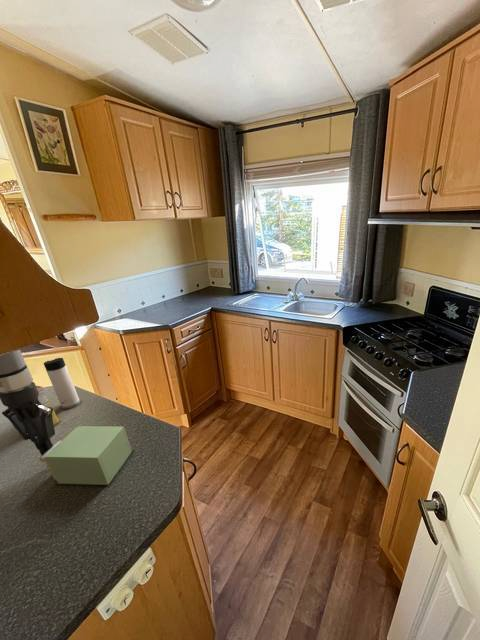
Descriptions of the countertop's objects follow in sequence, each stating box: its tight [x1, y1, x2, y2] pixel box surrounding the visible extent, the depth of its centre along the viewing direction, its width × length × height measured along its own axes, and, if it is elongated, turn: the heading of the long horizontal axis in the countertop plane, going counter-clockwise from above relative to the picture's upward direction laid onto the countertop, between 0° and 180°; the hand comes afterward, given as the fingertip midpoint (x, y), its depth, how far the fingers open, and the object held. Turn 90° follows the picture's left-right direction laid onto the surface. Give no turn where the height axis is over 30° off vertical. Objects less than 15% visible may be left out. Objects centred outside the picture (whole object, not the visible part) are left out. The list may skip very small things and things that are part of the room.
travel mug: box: [43, 357, 81, 409], centre depth 112 cm, size 6×7×20 cm
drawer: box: [38, 433, 70, 480], centre depth 82 cm, size 18×11×8 cm, turn 86°
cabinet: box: [45, 425, 133, 486], centre depth 82 cm, size 15×13×10 cm
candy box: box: [36, 385, 60, 426], centre depth 102 cm, size 9×4×15 cm, turn 69°
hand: (49, 457), depth 84 cm, fingers closed
